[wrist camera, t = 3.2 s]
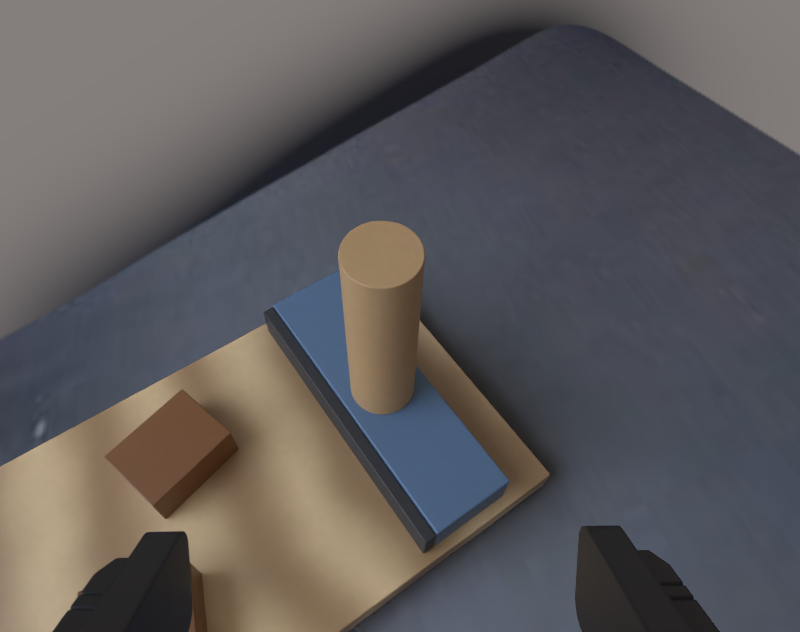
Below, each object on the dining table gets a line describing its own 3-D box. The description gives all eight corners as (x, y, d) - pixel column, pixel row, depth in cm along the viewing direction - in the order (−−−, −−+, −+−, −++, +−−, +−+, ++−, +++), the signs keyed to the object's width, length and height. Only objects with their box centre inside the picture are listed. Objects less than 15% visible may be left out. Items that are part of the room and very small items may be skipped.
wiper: (341, 290, 36) (324, 117, 26) (504, 495, 30) (563, 372, 20) (268, 330, 35) (220, 163, 25) (423, 554, 29) (444, 452, 19)
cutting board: (374, 280, 39) (373, 265, 37) (544, 484, 32) (551, 474, 31) (-51, 512, 31) (-69, 502, 30) (60, 846, 24) (43, 852, 23)
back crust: (192, 406, 32) (181, 388, 31) (239, 449, 31) (231, 432, 30) (118, 472, 30) (103, 456, 29) (165, 520, 29) (152, 506, 28)
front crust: (202, 572, 28) (190, 561, 26) (210, 658, 26) (198, 652, 25) (95, 600, 27) (76, 591, 26) (96, 691, 26) (76, 687, 24)
